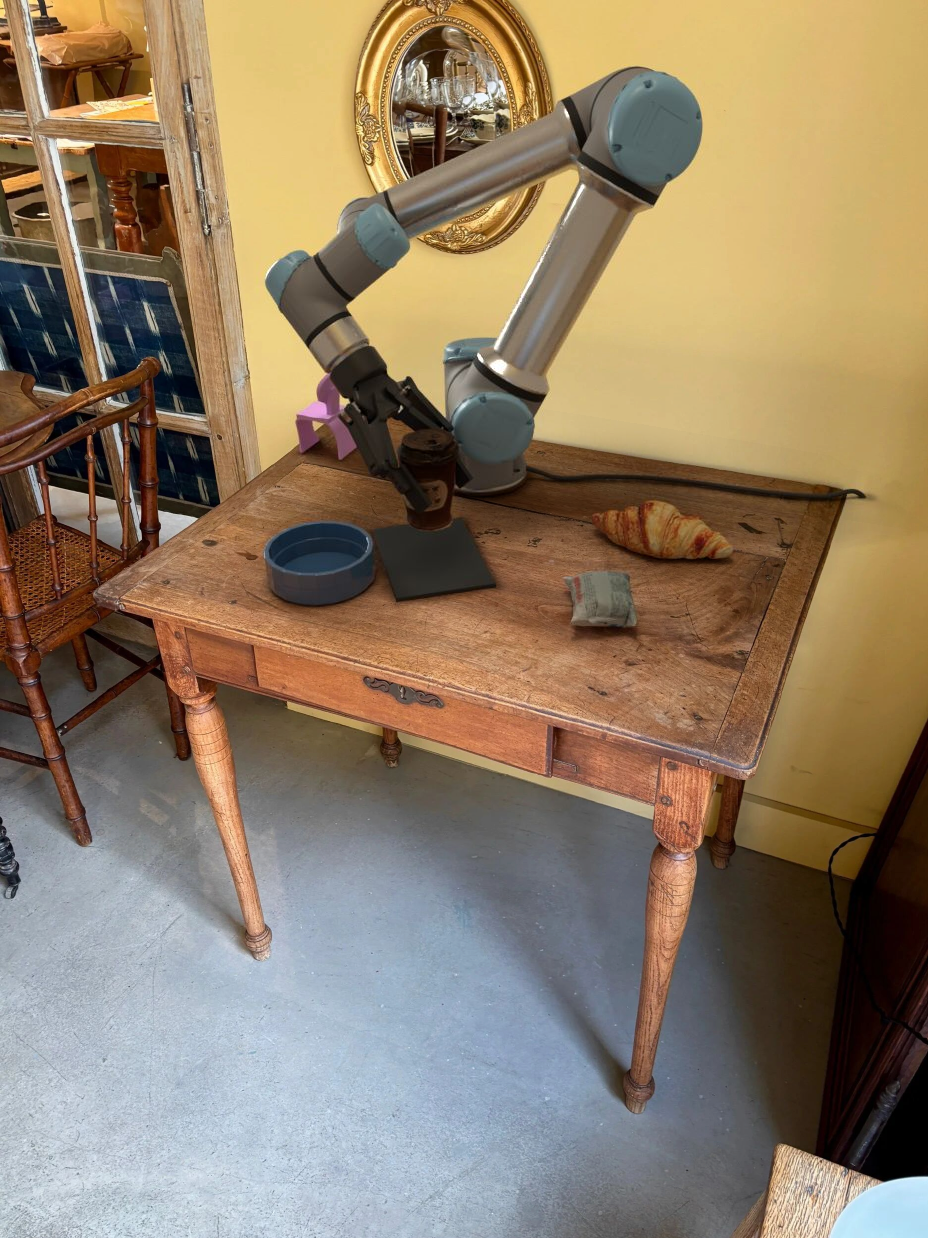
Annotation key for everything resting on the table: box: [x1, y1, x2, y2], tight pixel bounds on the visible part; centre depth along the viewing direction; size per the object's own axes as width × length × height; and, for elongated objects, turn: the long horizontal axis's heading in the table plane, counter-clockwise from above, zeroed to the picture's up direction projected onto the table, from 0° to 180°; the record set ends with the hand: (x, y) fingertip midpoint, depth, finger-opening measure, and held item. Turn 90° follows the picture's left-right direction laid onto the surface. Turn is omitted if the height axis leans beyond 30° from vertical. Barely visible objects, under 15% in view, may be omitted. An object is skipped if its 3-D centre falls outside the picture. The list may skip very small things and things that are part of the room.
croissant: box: [591, 499, 734, 560], centre depth 136 cm, size 21×10×8 cm, turn 65°
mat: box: [372, 516, 497, 603], centre depth 136 cm, size 14×20×1 cm
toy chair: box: [295, 373, 357, 461], centre depth 164 cm, size 8×9×15 cm
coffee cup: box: [396, 429, 459, 531], centre depth 129 cm, size 9×8×13 cm
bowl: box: [263, 520, 377, 606], centre depth 131 cm, size 15×15×5 cm
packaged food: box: [562, 570, 638, 628], centre depth 122 cm, size 9×12×5 cm
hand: (446, 496), depth 128 cm, fingers closed on coffee cup, 9 cm apart
